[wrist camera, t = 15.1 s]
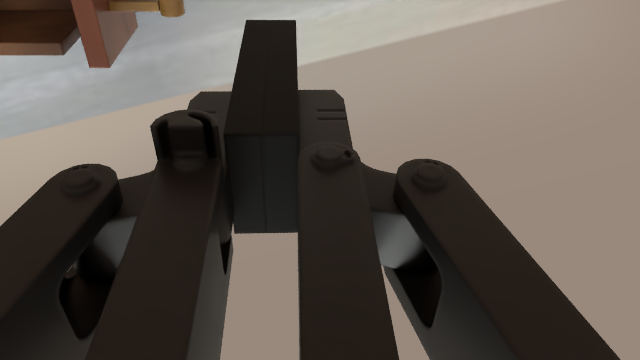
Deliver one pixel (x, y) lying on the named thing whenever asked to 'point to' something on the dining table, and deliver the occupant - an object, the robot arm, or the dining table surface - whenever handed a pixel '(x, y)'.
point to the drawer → (75, 26)
